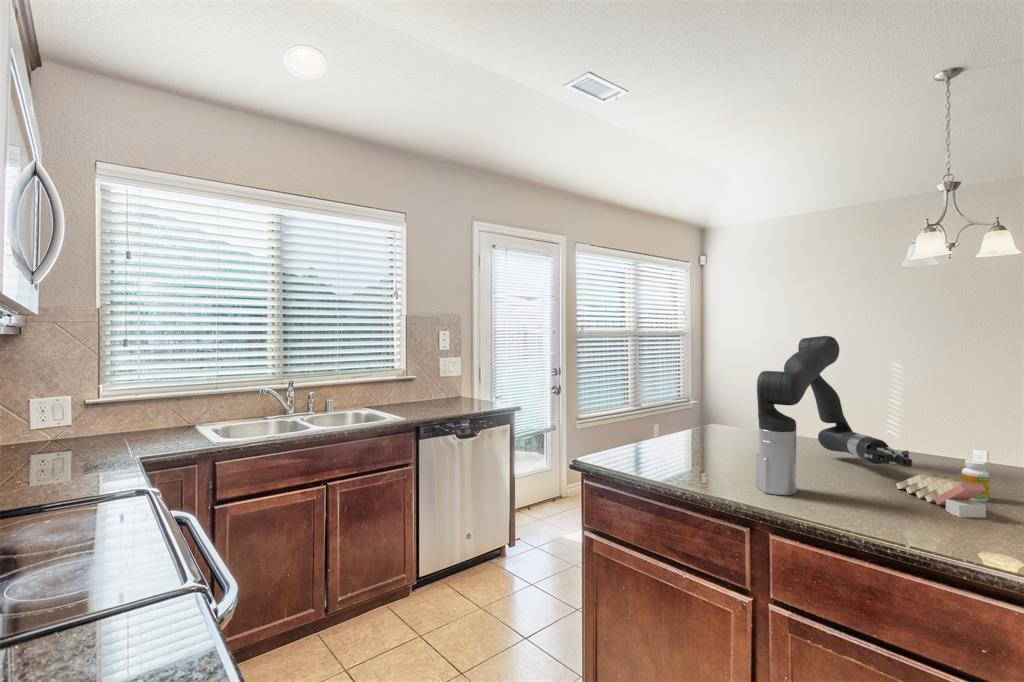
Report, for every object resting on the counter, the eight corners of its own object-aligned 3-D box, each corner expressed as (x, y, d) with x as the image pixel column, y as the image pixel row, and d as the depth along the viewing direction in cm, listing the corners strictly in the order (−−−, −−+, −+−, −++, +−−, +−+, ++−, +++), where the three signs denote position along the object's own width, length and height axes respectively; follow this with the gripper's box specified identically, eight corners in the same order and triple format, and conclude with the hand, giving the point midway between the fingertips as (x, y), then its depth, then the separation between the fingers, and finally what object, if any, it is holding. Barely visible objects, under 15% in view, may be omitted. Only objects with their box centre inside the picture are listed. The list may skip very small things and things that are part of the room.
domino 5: (937, 504, 126) (964, 490, 118) (934, 498, 127) (960, 483, 119) (957, 504, 126) (986, 490, 118) (954, 498, 127) (982, 483, 119)
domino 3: (918, 498, 133) (943, 485, 124) (915, 492, 133) (940, 479, 125) (937, 498, 132) (964, 485, 124) (935, 492, 133) (960, 479, 125)
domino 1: (897, 489, 140) (922, 480, 131) (895, 483, 141) (919, 474, 132) (916, 489, 140) (941, 480, 131) (914, 483, 141) (939, 474, 132)
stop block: (959, 517, 119) (959, 504, 119) (945, 511, 123) (945, 499, 123) (985, 517, 119) (985, 505, 119) (971, 511, 123) (971, 499, 123)
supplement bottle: (979, 502, 129) (979, 465, 129) (955, 496, 134) (956, 460, 134) (994, 500, 130) (994, 463, 130) (970, 494, 135) (970, 458, 135)
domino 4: (927, 502, 129) (953, 488, 121) (924, 496, 130) (949, 481, 122) (947, 502, 129) (974, 488, 121) (944, 496, 130) (971, 481, 122)
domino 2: (908, 493, 136) (932, 483, 128) (905, 487, 137) (929, 477, 129) (927, 494, 136) (953, 483, 128) (924, 488, 137) (950, 477, 128)
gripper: (845, 436, 156) (884, 449, 139) (889, 436, 156) (934, 449, 139) (845, 460, 157) (884, 476, 139) (889, 460, 156) (933, 476, 139)
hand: (909, 463), depth 139 cm, fingers closed
